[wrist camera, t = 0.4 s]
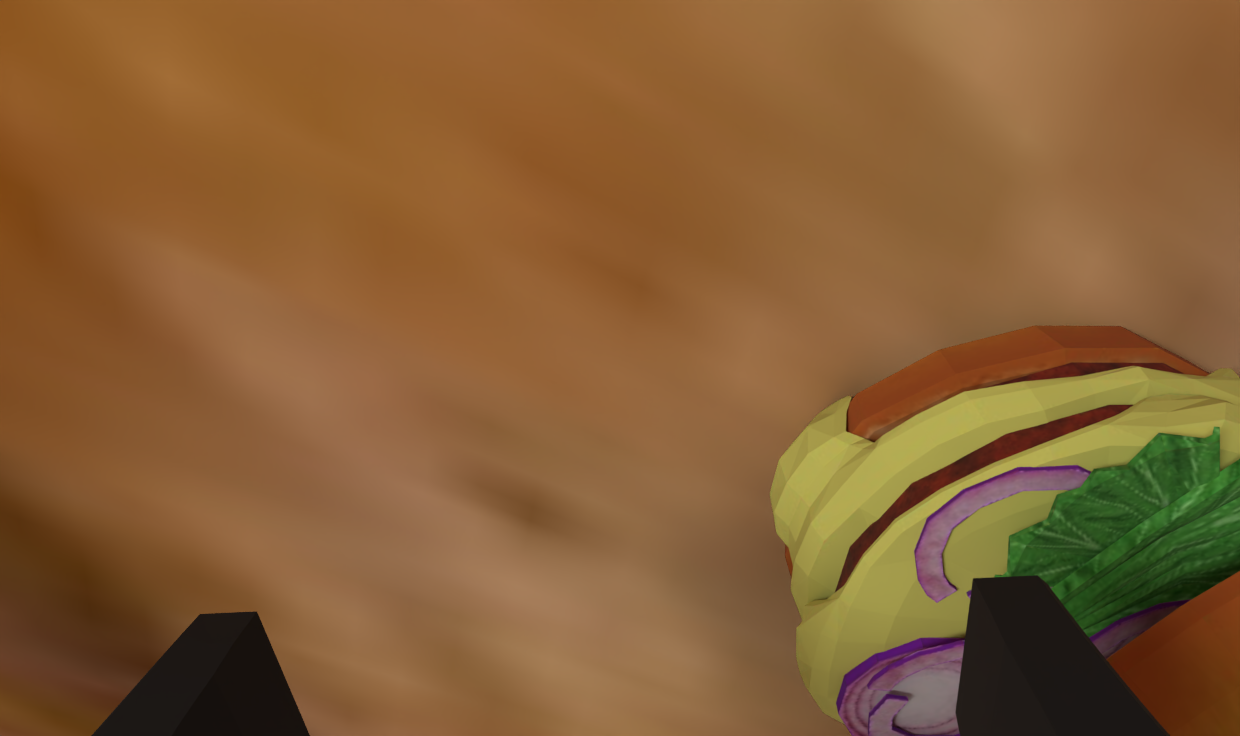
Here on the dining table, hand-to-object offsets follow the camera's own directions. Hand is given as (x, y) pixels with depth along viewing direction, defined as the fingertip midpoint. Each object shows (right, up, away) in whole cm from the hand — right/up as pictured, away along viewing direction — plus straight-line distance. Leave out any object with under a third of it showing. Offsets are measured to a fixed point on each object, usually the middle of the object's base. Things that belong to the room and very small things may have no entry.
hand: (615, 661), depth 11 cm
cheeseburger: (+9, +1, +12) cm, 15 cm away
